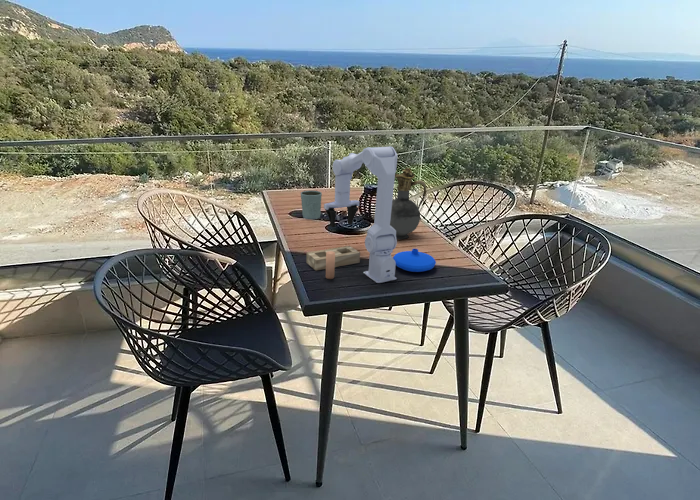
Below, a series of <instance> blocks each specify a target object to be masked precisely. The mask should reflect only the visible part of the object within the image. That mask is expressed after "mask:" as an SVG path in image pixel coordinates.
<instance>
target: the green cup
mask: <svg viewBox="0 0 700 500" xmlns="http://www.w3.org/2000/svg"><path fill="white" fill-rule="evenodd" d="M322 195H323V194H322V192H321V191H319V190H304V191H301V192H300V200H301V201H300V202H301V211H302V218H303V219H306V220H318V219H320V218H321V213H322V210H321V209H322Z"/></svg>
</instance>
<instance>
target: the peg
mask: <svg viewBox="0 0 700 500" xmlns="http://www.w3.org/2000/svg"><path fill="white" fill-rule="evenodd" d="M335 269H336V267H335V252H333V251H328V252H326V269H325V278H326V279H328V280H333V279H334V278H335Z"/></svg>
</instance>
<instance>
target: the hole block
mask: <svg viewBox="0 0 700 500" xmlns="http://www.w3.org/2000/svg"><path fill="white" fill-rule="evenodd" d="M328 251H333V252H335V268H338V267H344V266H348V265H353V264H359V263H361V262H360V260H361V252H360V251H358V250H357V249H355V248H354V247H353V246H351V245H345V246H339V247H333V248H325V249H320V250H314V251H309V252H306V264H307V265H308V266H310V267H311V268H312V269H313V270H314V271H321V270H326V252H328Z"/></svg>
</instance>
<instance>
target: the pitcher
mask: <svg viewBox="0 0 700 500" xmlns="http://www.w3.org/2000/svg"><path fill="white" fill-rule="evenodd" d="M415 174H416V173H414V172H413V170H411V168H410V167H405V168H404V169H402V173H395V179H396V181H397V182H398V183H397V187H396V190H397V197H396V198H395V199H392V209H391V219H390V226H392V227H393V228H394V229H395V230H396V239H397V240H405V239H408V238H409V237H410V235H409V234H411V233H413V232H414V231H416V229H417V228H418V226H419V223H420V222H421V221H422V218H421V212H420V208H421V205H422V204H423V202H424V201H425V200H424V199H425V198H426V195H427V190H428V189H427V184H426V182H425V181H423V180H420V179H419V180H415V181H413V179H414V178H415V176H416V175H415ZM417 185H421V186H422V187H423V193H422V198H421V200H420V202H419V203H418V205H417V204H416V203H415V202H414V201H413V200H411V199H409V198H410V191H411V187H414V186H417Z"/></svg>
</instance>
